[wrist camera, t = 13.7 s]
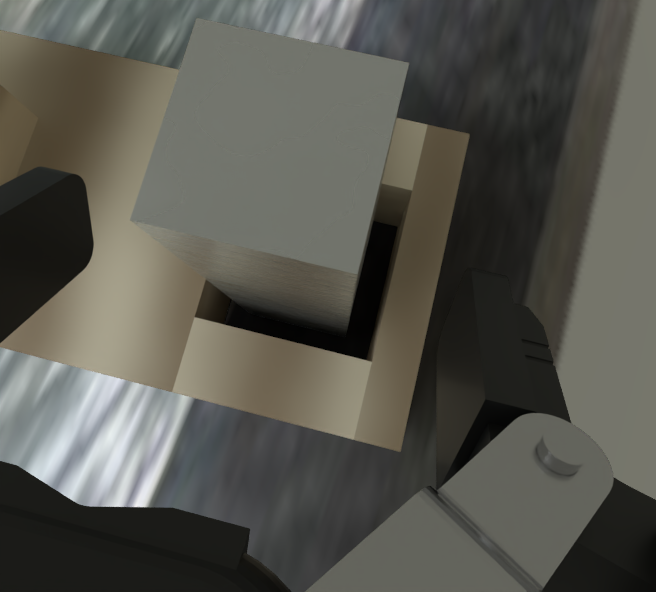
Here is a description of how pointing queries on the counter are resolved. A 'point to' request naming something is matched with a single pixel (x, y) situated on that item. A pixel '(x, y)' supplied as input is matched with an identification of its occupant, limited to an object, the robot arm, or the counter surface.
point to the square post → (273, 170)
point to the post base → (189, 286)
